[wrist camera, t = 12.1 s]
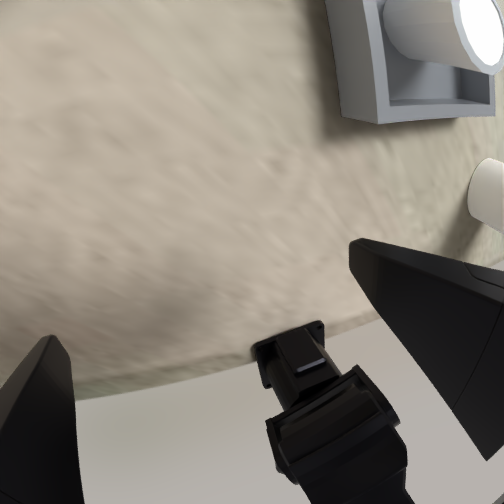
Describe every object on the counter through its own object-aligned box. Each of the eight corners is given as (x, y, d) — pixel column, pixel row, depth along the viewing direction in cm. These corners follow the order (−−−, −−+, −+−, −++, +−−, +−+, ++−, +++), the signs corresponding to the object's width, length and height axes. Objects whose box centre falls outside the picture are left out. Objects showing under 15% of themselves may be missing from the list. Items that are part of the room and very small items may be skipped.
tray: (461, 108, 22) (495, 116, 19) (341, 116, 20) (378, 124, 17) (443, -30, 15) (475, -35, 12) (309, -64, 13) (340, -85, 9)
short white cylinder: (437, 77, 20) (508, 88, 14) (373, 54, 17) (452, 54, 12) (438, 5, 16) (507, 3, 11) (376, -27, 14) (448, -46, 8)
